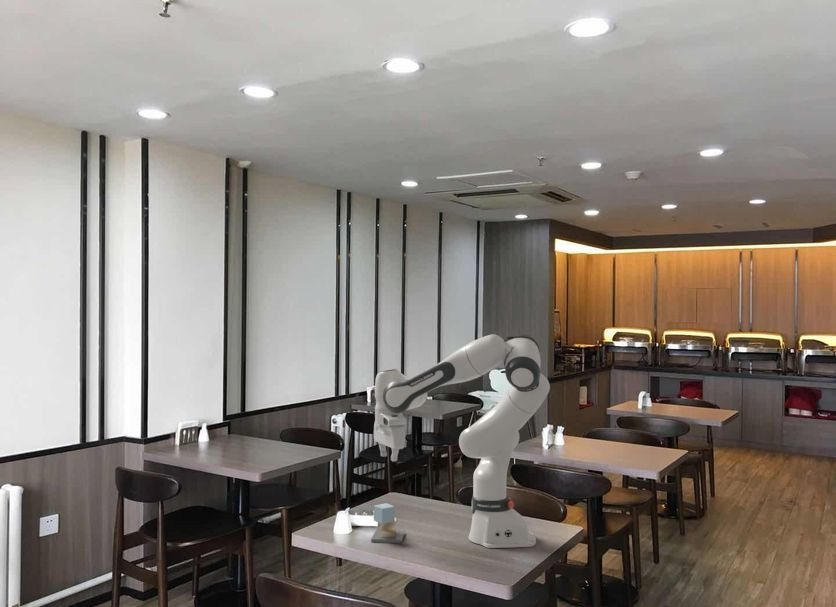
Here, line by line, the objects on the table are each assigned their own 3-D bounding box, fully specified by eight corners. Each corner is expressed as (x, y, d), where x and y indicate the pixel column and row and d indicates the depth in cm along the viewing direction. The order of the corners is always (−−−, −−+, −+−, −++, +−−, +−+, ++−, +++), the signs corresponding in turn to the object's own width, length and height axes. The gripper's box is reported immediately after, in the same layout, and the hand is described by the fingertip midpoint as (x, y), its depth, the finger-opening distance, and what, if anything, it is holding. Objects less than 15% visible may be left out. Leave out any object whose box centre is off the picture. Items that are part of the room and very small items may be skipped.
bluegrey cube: (394, 521, 226) (394, 506, 226) (382, 524, 223) (382, 508, 223) (385, 517, 230) (386, 503, 230) (373, 520, 227) (373, 505, 227)
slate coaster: (404, 533, 232) (404, 530, 232) (401, 543, 222) (401, 540, 222) (376, 532, 233) (376, 529, 233) (371, 542, 223) (371, 539, 223)
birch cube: (395, 532, 230) (395, 517, 230) (396, 537, 225) (396, 521, 225) (381, 532, 230) (381, 517, 230) (381, 537, 225) (381, 522, 225)
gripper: (369, 414, 237) (369, 454, 236) (390, 421, 218) (391, 464, 218) (385, 413, 239) (386, 452, 239) (408, 420, 221) (409, 462, 220)
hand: (388, 458), depth 228 cm, fingers open, 8 cm apart
